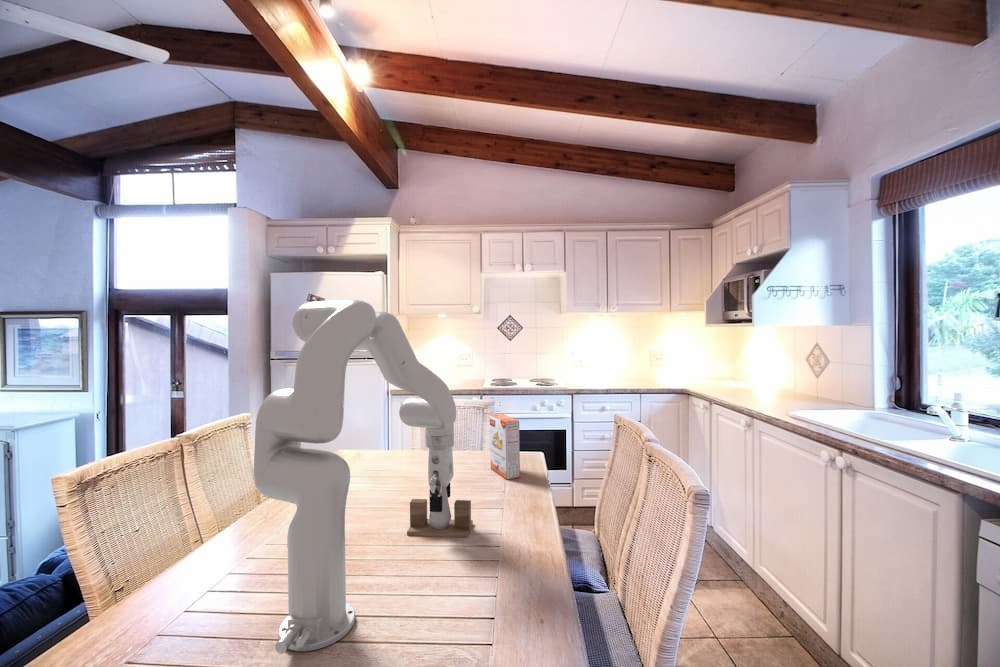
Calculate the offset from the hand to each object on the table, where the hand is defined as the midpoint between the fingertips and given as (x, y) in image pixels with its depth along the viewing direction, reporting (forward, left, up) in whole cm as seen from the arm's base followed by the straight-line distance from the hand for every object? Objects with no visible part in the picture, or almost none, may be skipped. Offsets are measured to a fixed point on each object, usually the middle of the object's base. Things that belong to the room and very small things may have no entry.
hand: (440, 504), depth 118 cm
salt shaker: (0, 0, -6) cm, 6 cm away
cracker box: (+47, -13, -7) cm, 49 cm away
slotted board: (0, 0, -7) cm, 7 cm away
